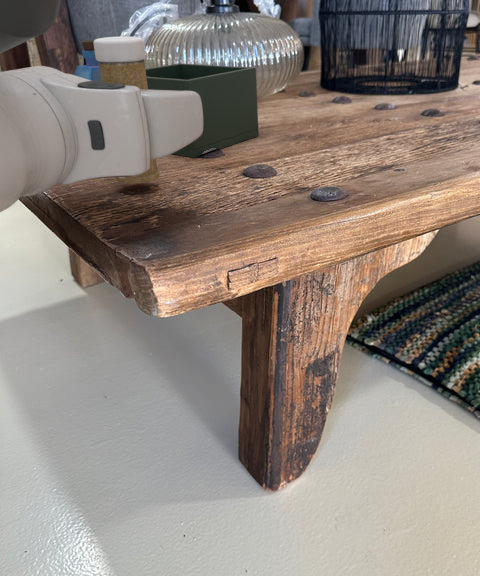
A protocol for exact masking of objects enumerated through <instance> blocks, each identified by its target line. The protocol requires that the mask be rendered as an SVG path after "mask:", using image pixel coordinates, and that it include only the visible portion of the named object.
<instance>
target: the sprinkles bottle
mask: <svg viewBox="0 0 480 576" xmlns="http://www.w3.org/2000/svg"><path fill="white" fill-rule="evenodd" d="M145 47H146V46H145V40H144V39H143V38H142V37H139V36H138V37H137V36H125V35H124V36H122V35H121V36H108V37H100V38H96V39H94V50H95V56H96V60H97V61H99V63H98V65H99V67H100V74H101V81H102V82H105V83H114V84H124V85H126V86H136V87H138V88H139V89H144V90H148V85H147V78H146V69H147V68H146V61H145V59H147V54H146V48H145ZM159 177H160V170H159V169H158V162H157V159H153V160H150V169H149V170H148V171H146V172H144V173H142V174H140V175H135V176H124V177H114V179H115V180H116V181H117V182H118V183H120V184H125V185H128V184H129V185H135V184H143V183H149V182H153V181H155V180H157V179H158V178H159Z"/></svg>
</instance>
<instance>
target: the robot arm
mask: <svg viewBox="0 0 480 576" xmlns="http://www.w3.org/2000/svg"><path fill="white" fill-rule="evenodd" d="M60 5H61V0H0V54H3V53H4V52H6V51H8V50H11V49H13V48H15V47H17V46H19V45H22V44H24V43H26V42H28V41H30V40H32V39H35V38H37V37H39V36H41V35H43V34H45V33H46V32H47V31H49V30H50V29H51V27H53V25H54V23H55V22H56V19H58V18H57V17H58V14H59V12H60V8H61V6H60ZM202 132H203V109H202V102H201V98H200V96H199V94H198V93H196V92H194V91H172V90H144V89H139V88H138V87H136V86H126V85H124V84H114V83H105V82H99V81H91V80H88V79H84V78H81V77H78V76H75V75H74V74H71V73H65V72H63V71H60V70H59V69H56V68H54V67H50V66H46V65H34V66H29V67H28V66H27V67H23V68H17V69H9V70H4V71H0V213H2V212H4V211H5V210H7V209H10V207H12V206H13V205H15V204H16V203H17V202H18V200H19V199H20V198H21V197H30V196H36V195H40V194H42V193H43V194H44V193H45V192H47V191H49V190H51V189H54V188H57V187H58V186H60V185H61V186H68V185H73V184H76V183H78V182H82V181H88V180H92V179H106V178H107V179H108V178H115V177H124V176H135V175H140V174H142V173H144V172H146V171H148V170H149V169H150V160H153V159H156V160H157V159H162V158H165V157H167V156H170V155H173V154H172V153H174V152H176V151H178V150H180V149H182V148H183V147H185V146H187V145H188V144H190V143H192V142H193V141H195V140H196V139H198V138H199V137H200V136H201V134H202Z"/></svg>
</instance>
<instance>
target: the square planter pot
mask: <svg viewBox="0 0 480 576" xmlns="http://www.w3.org/2000/svg"><path fill="white" fill-rule="evenodd" d="M145 69H146V78H147V85H148V90H172V91H194V92H196V93H198V94H199V96H200V98H201V102H202V109H203V132H202V134H201V136H200V137H199V138H198V139H196V140H195V141H193V142H192V143H190V144H188V145H187V146H185V147H183V148H182V149H180V150H178V151H176V152H174V153H172V154H171V155H175V156H182V157H186V158H187V157H188V158H193V159H196V158H198V157H201V156H200V155H201V154H202V153H203V152H204V151H206V150H209V149H211V148H216V149H219V150H222V149H225V148H228V147H231V146H233V145H236V144H240V143H242V142H244V141H247V140H250V139H253V138H256V137H259V136H260V135H259V111H258V109H259V108H258V89H257V88H258V87H257V68H256V67H249V66H231V65H217V64H216V65H215V64H198V63H197V64H196V63H181V62H180V63H179V62H178V63H173V64H167V65H160V66H154V67H153V66H152V67H148V68H145Z"/></svg>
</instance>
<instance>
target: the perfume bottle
mask: <svg viewBox="0 0 480 576" xmlns="http://www.w3.org/2000/svg"><path fill="white" fill-rule="evenodd" d="M94 40H95V39H94ZM94 40H81V41H80V42H81V45H82V47H83V50H81V54H82V58H83V59H85V60H84V61H85V64H82V65H77V66H76V68H75V71H74V73H73V75H75V76H78V77H81V78H84V79H88V80H91V81H99V82H102V81H101V74H100V67H99V65H98V63H99V61H97V60H96V56H95V50H94Z"/></svg>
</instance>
